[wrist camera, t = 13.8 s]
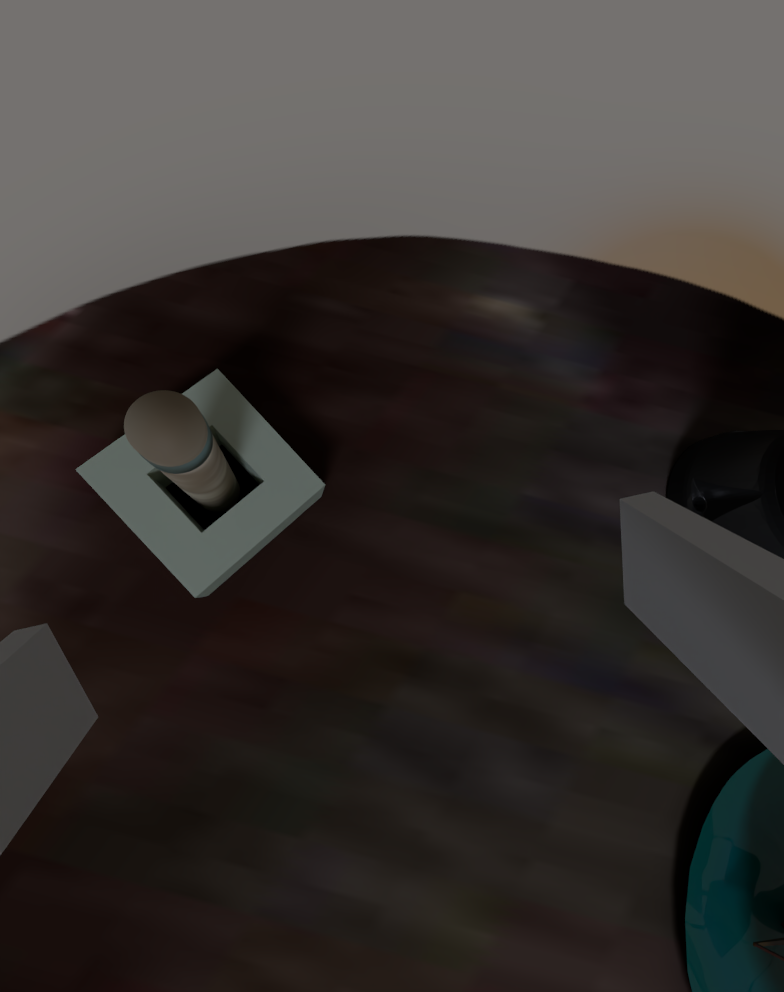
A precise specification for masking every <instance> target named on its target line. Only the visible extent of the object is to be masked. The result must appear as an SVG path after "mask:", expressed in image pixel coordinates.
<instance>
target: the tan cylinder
mask: <svg viewBox="0 0 784 992" xmlns="http://www.w3.org/2000/svg"><path fill="white" fill-rule="evenodd" d="M124 431H125V435H126V438H127V440H128V442H129V443H130V445H131V446H132V447H133V448H134V449H135V450H136V451H137V452H138V453H139V454H140V455H141V456H142V457H143V458H144V459H145V460H146V461H147V462H149V463H150V464H151V465H152V466H154V467H155V468H157V469H158V470H160V471H161V472H162V473H163V474H164V475H166V476H167V477H168V478H169V479H170V480H171V481H173V482H174V483H175V484H176V485H177V486H179V487H180V488H181V489H182V490H183V491H184V492H186V493H187V494H188V495H189V496H190V497H192V498H193V499H194V500H195V501H196V502H197V503H199V504H200V505H201V506H202V507H203V508H205V509H207V510H209V511H212V512H222V511H226V510H228V509H230V508H231V507H233V506H234V505H235V504H236V502H237V501H238V499H239V496H240V486H239V483H238V481H237V479H236V477H235V475H234V474H233V472H232V470H231V468H230V466H229V464H228V463H227V461H226V459H225V457H224V455H223V453H222V451H221V450H220V448H219V446H218V444H217V442H216V440H215V438H214V437H213V435H212V432H211V429H210V427H209V425H208V423H207V421H206V419H205V418H204V416H203V415H202V414H201V412H200V411H199V409H198V407H197V406H196V405H195V403H194V402H193V401H191V400H190V399H189V398H188V397H186V396H184V395H182V394H180V393H177V392H174V391H165V390H162V391H154V392H151V393H148V394H145V395H143V396H142V397H140V398H139V399H137V400H136V401H135V402H134V403H133V404H132V405H131V406H130V408H129V409H128V411H127V413H126V416H125V420H124Z"/></svg>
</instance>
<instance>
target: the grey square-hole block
mask: <svg viewBox="0 0 784 992" xmlns="http://www.w3.org/2000/svg"><path fill="white" fill-rule="evenodd" d="M182 395H184V396H186V397H188V398H189V399H190V400H191V401H193V402H194V403H195V405H196V406H197V407H198V409H199V411H200V412H201V414H202V415H203V416H204V418H205V419H206V421H207V423H208V425H209V427H210V429H211V432H212V435H213V437H214V438H215V440H216V442H217V444H218V446H220V445H223V446H224V447H225V448H226V449H227V450H228V451H229V452H230V453H231V455H232V456H233V457H234V458H235V459H236V460H237V461H238V462H239V463H240V464H241V465H242V466H243V467H244V469H245V470H246V471H247V472H248V473H249V474H250V475H251V476H252V477H253V478H254V479H255V480H256V481H257V483H258V484H259V486H258V487H257V488H255V489H254V490H253V491H252V492H251V493H249V494H248V495H247V496H246V497H244V498H243V499H242V500H241V501H240V502H238V503H237V504H236V505H235V506H234V507H232V508H231V509H230V510H229V511H228V512H226V513H225V514H224V515H223V516H221V517H220V518H219V519H218V520H217V521H215V522H214V523H213V524H212V525H211V526H209V527H208V528H207V529H206V530H204V529H203V528H202V527H201V526H200V525H199V524H198V523H197V521H196V520H195V519H194V518H193V517H192V516H191V515H190V514H189V513H188V512H187V511H186V510H185V509H184V508H183V506H182V505H181V504H180V503H179V502H178V501H177V500H176V499H175V498H174V497H173V496H172V495H171V494H170V492H169V491H168V490H167V489H166V487H167V486H168V485H170V484H171V483H172V482H173V481H171V480H170V479H169V478H168V477H167V476H166V475H164V474H163V473H162V472H161V471H160V470H158V469H157V468H155V467H154V466H152V465H151V464H150V463H149V462H147V461H146V460H145V459H144V458H143V457H142V456H141V455H140V454H139V453H138V452H137V451H136V450H135V449H134V448H133V447H132V446H131V445H130V443H129V442H128V440H127V438H126V435H123V436H122V437H120V438H119V439H118V440H116V441H115V442H113V443H112V444H111V445H109V446H108V447H106V448H105V449H104V450H102V451H101V452H99V453H98V454H97V455H95V456H94V457H92V458H91V459H89V460H88V461H87V462H85V463H84V464H82V465H81V466H80V467H78V468H77V469H75V470H76V471H77V472H78V473H79V474H80V475H81V476H82V477H83V478H84V479H85V480H86V481H87V483H88V484H89V485H90V486H91V487H92V488H93V489H94V490H95V491H96V492H97V493H98V494H99V495H100V496H101V498H102V499H103V500H104V501H105V502H106V503H107V504H108V505H109V506H110V507H111V508H112V509H113V510H114V511H115V513H116V514H117V515H118V516H119V517H120V518H121V519H122V520H123V521H124V522H125V523H126V524H127V525H128V526H129V528H130V529H131V530H132V531H133V532H134V533H135V534H136V535H137V536H138V537H139V538H140V539H141V540H142V541H143V543H144V544H145V545H146V546H147V547H148V548H149V549H150V550H151V551H152V552H153V553H154V554H155V555H156V556H157V558H158V559H159V560H160V561H161V562H162V563H163V564H164V565H165V566H166V567H167V568H168V569H169V570H170V571H171V573H172V574H173V575H174V576H175V577H176V578H177V579H178V580H179V581H180V582H181V583H182V584H183V585H184V586H185V588H186V589H187V590H188V591H189V592H190V593H191V594H192V595H193V596H194V597H195V598H198V597H204V596H208V595H210V594H211V593H212V592H213V591H214V590H215V589H216V588H218V587H219V586H220V585H221V584H222V583H223V582H224V581H226V580H227V579H228V578H229V577H230V576H231V575H232V574H234V573H235V572H236V571H237V570H238V569H239V568H240V567H242V566H243V565H244V564H245V563H246V562H247V561H248V560H249V559H251V558H252V557H253V556H254V555H255V554H256V553H257V552H259V551H260V550H261V549H262V548H263V547H264V546H265V545H267V544H268V543H269V542H270V541H271V540H272V539H273V538H275V537H276V536H277V535H278V534H279V533H280V532H281V531H283V530H284V529H285V528H286V527H287V526H288V525H289V524H291V523H292V522H293V521H294V520H295V519H296V518H297V517H299V516H300V515H301V514H302V513H303V512H304V511H305V510H307V509H308V508H309V507H310V506H311V505H312V504H313V503H315V502H316V501H317V500H318V499H319V498H320V497H321V496H322V493H323V490H324V487H325V484H324V483H323V482H322V481H321V480H320V479H319V478H318V476H317V475H316V474H315V473H314V472H313V471H312V470H311V469H310V468H309V467H308V466H307V465H306V463H305V462H304V461H303V460H302V459H301V458H300V457H299V456H298V455H297V454H296V453H295V452H294V451H293V449H292V448H291V447H290V446H289V445H288V444H287V443H286V442H285V441H284V440H283V439H282V438H281V437H280V435H279V434H278V433H277V432H276V431H275V430H274V429H273V428H272V427H271V426H270V425H269V424H268V422H267V421H266V420H265V419H264V418H263V417H262V416H261V415H260V414H259V413H258V412H257V411H256V410H255V408H254V407H253V406H252V405H251V404H250V403H249V402H248V401H247V400H246V399H245V398H244V397H243V396H242V394H241V393H240V392H239V391H238V390H237V389H236V388H235V387H234V386H233V385H232V384H231V383H230V381H229V380H228V379H227V378H226V377H225V376H224V375H223V374H222V373H221V372H220V371H219V370H218V369H216V370H215V371H213V372H212V373H211V374H209V375H208V376H206V377H205V378H204V379H202V380H201V381H199V382H198V383H197V384H195V385H194V386H192V387H191V388H189V389H188V390H187V391H185V392H184V393H182Z"/></svg>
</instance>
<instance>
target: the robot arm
mask: <svg viewBox="0 0 784 992" xmlns="http://www.w3.org/2000/svg"><path fill="white" fill-rule="evenodd" d="M620 518H621V540H622V562H623V584H624V604H625V605H626V606H627V607H628V608H629V609H630V610H631V611H632V612H633V613H634V614H635V615H636V616H637V617H638V618H639V619H640V620H641V621H642V622H643V623H644V624H645V625H646V626H647V627H648V628H649V629H650V630H651V631H652V632H653V633H654V634H655V635H656V636H657V637H658V638H659V639H660V640H661V641H662V642H663V643H664V644H665V645H666V646H667V647H668V648H669V649H670V650H671V651H672V652H673V653H674V654H675V656H676V657H677V658H678V659H679V660H680V661H681V662H682V663H683V664H684V665H685V666H686V667H687V668H688V669H689V670H690V671H691V672H692V673H693V674H694V675H695V676H696V677H697V678H698V679H699V680H700V681H701V682H702V683H703V684H704V685H705V686H706V687H707V688H708V689H709V690H710V691H711V692H712V693H713V694H714V695H715V696H716V697H717V698H718V699H719V700H720V701H721V702H722V703H723V704H724V705H725V706H726V707H727V708H728V709H729V710H730V711H731V712H732V713H733V714H734V715H735V716H736V717H737V718H738V719H739V720H740V721H741V722H742V723H743V724H744V725H745V726H746V727H747V728H748V729H749V730H750V731H751V732H752V733H753V734H754V735H755V736H756V737H757V738H758V739H759V740H760V741H761V742H762V743H763V744H764V745H765V746H766V747H767V748H768V749H769V750H770V751H771V752H772V753H773V754H774V755H775V757H776V758H777V759H778V760H779V761H780V762H781V763H782V764H783V765H784V430H766V431H732V432H726V433H722V434H719V435H716V436H713V437H710V438H707V439H704V440H701V441H699V442H697V443H695V444H693V445H692V446H690V447H689V448H688V449H687V450H686V451H685V452H684V453H683V454H682V455H681V456H680V458H679V459H678V461H677V462H676V464H675V466H674V468H673V470H672V473H671V476H670V479H669V484H668V491H667V498H665V497H663V496H661V495H659V494H657V493H655V492H649V493H645V494H640V495H635V496H631V497H626V498H622V499H620ZM97 718H98V716H97V714H96V712H95V710H94V708H93V706H92V705H91V703H90V701H89V699H88V697H87V696H86V694H85V692H84V690H83V688H82V686H81V685H80V683H79V681H78V679H77V677H76V676H75V674H74V672H73V670H72V668H71V666H70V665H69V663H68V661H67V659H66V657H65V655H64V654H63V652H62V650H61V648H60V646H59V645H58V643H57V641H56V639H55V637H54V635H53V634H52V632H51V630H50V628H49V626H48V625H47V624H43V625H38V626H34V627H29V628H25V629H20V630H15V631H13V632H12V633H11V634H10V635H8V636H7V637H6V638H5V639H4V640H2V641H1V642H0V855H1V854H2V852H3V851H4V850H5V848H6V847H7V845H8V844H9V842H10V841H11V840H12V838H13V837H14V835H15V834H16V833H17V831H18V830H19V828H20V827H21V826H22V824H23V823H24V821H25V820H26V818H27V817H28V816H29V814H30V813H31V811H32V810H33V809H34V807H35V806H36V804H37V803H38V801H39V800H40V799H41V797H42V796H43V794H44V793H45V792H46V790H47V789H48V787H49V786H50V784H51V783H52V782H53V780H54V779H55V777H56V776H57V775H58V773H59V772H60V770H61V769H62V767H63V766H64V765H65V763H66V762H67V760H68V759H69V758H70V756H71V755H72V753H73V752H74V750H75V749H76V748H77V746H78V745H79V743H80V742H81V741H82V739H83V738H84V736H85V735H86V733H87V732H88V731H89V729H90V728H91V726H92V725H93V724H94V722H95V721H96V719H97Z"/></svg>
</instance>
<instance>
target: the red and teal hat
mask: <svg viewBox="0 0 784 992" xmlns="http://www.w3.org/2000/svg"><path fill="white" fill-rule="evenodd" d="M685 930H686V951H687V971H688V976H689V980H690V985H691V989H692V992H784V765H783V764H782V763H781V762H780V761H779V760H778V759H777V758H776V757H775V755H774V754H773V753H772V752H771V751H770V750H769V749H766V750H765V751H763V752H762V753H760V754H758V755H757V756H755V757H753V758H752V759H750V760H749V761H748V762H747V763H746V764H744V765H743V766H742V767H741V768H740V769H739V770H738V771H736V773H735V774H734V775H733V776H732V777H731V778H730V779H729V780H728V782H727V783H726V784H725V786H724V787H723V789H722V790H721V792H720V794H719V795H718V797H717V798H716V800H715V802H714V803H713V805H712V807H711V809H710V812H709V814H708V816H707V818H706V820H705V823H704V825H703V827H702V830H701V833H700V836H699V840H698V843H697V846H696V849H695V853H694V856H693V859H692V862H691V866H690V872H689V882H688V892H687V902H686V913H685Z"/></svg>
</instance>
